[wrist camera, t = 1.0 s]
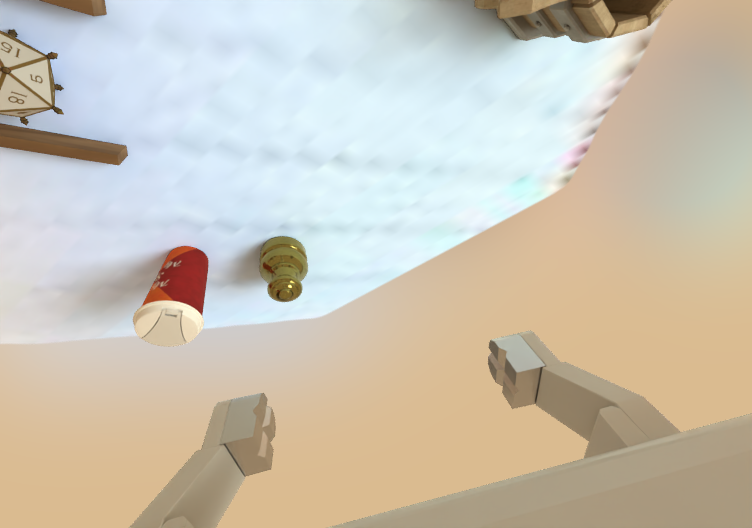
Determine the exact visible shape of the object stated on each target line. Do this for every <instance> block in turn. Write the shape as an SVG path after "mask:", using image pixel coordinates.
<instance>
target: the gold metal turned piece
mask: <svg viewBox="0 0 752 528" xmlns="http://www.w3.org/2000/svg"><path fill="white" fill-rule="evenodd" d="M259 271H260V274H261V276H262V278H263V279H264V280H265V281H266V282H267V283H269V284H268V288H267V291H268V294H269V296H270V297H271V298H272V299H274V300H276V301H279V302H289V301H293V300H295V299H296V298H298V297H299V296H300V295H301V293H302V284H301V281H302V280H303V279H304V278H305V276H306V274H307V272H308V264H307V256H306V251H305V248H304V246H303V245H302V244H301V243H300V242H299V241H298V240H296V239H294V238H291V237H284V236H282V237H276V238H273V239H270V240H269V241H267V242H266V243H265V244H264V245H263V247H262V249H261V253H260V266H259Z"/></svg>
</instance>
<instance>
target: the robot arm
mask: <svg viewBox="0 0 752 528" xmlns="http://www.w3.org/2000/svg"><path fill="white" fill-rule="evenodd" d="M489 349H490V350H491V352H492V353H491V354H490V355H489V357H488V365H489V369H490V372H491V374H492V377H493V378H494V380H495V382H496V383H498V384H500V385H501V386H503V391H502V393H503V395H504V396H505V398H506V399H507V401H508V403H509V404H510V406H511V407H512V409H513V408H518V407H522V406H527V405H532V404H536V405H537V406H538V407H539V408H541V409H542V410H544V411H545V412H547V413H548V414H550V415H551V416H553V417H554V418H556V419H557V420H558V421H560V422H561V423H563V424H564V425H566V426H567V427H569V428H570V429H572V430H573V431H575V432H576V433H577V434H579V435H580V436H582V437H583V438H585V439H586V440H588V441H589V443H588V446H587V449H586V453H585V456H584V459H581V460H577V461H573V462H570V463H566V464H562V465H559V466H555V467H551V468H547V469H544V470H540V471H537V472H533V473H529V474H525V475H522V476H518V477H514V478H511V479H507V480H503V481H499V482H496V483H492V484H488V485H485V486H481V487H477V488H473V489H469V490H466V491H462V492H458V493H454V494H451V495H447V496H443V497H440V498H436V499H432V500H428V501H425V502H421V503H417V504H414V505H410V506H406V507H402V508H399V509H395V510H392V511H388V512H384V513H380V514H377V515H373V516H369V517H365V518H362V519H358V520H354V521H351V522H347V523H343V524H339V525H336V526H332V527H329V528H752V414H748V415H744V416H740V417H737V418H733V419H729V420H726V421H722V422H718V423H715V424H711V425H707V426H703V427H699V428H696V429H692V430H689V431H685V432H680V431H679V430H678V429H677V428H676V427H675V426H674V425H673V424H672V423H670V421H668V420H667V419H666V418H665V417H664V416H663V415H662V414H661V413H660V412H659V411H658V410H657V409H656V408H655V407H654V406H653V405H651V404H650V403H649V402H648V401H647V400H646V399H645V398H644V397H642V396H640V395H638V394H636V393H634V392H631V391H629V390H627V389H625V388H622V387H620V386H618V385H615V384H613V383H611V382H609V381H607V380H604V379H602V378H600V377H597V376H595V375H593V374H591V373H589V372H587V371H584V370H582V369H580V368H578V367H575V366H573V365H571V364H569V363H566V362H562V363H561V362H560V361H559V360H558V359H557V358H556V356H555V355H553V353H552V352H551V351H550V350H549V349H548V348H547V347H546V346H545V344H544V343H543V342H542V341H541V340H540V339H539V338H538V337H537V336H536V335H535V334H534V332H532V331H526V332H522V333H518V334H513V335H509V336H505V337H501V338H497V339H493V340H490V343H489ZM275 429H276V426H275V417H274V413H273V410H272V408H270V407H269V406H267V398H266V396H265V394H264V393H260V394H256V395H251V396H245V397H241V398H236V399H232V400H227V401H222V402H218V403H217V404H216V406H215V407H214V410H213V413H212V417H211V420H210V423H209V426H208V429H207V432H206V436H205V439H204V442H203V445H202V449H201V450H198V451H196V452H195V453H194V454H193V455H192V457H191V458H190V459H189V460H188V461H187V462H186V463H185V465H184V466H183V467H182V468H181V469H180V470H179V471H178V473H177V474H176V475H175V476H174V477H173V478H172V479H171V481H170V482H169V483H168V484H167V485H166V486H165V487H164V489H163V490H162V491H161V492H160V493H159V494H158V495H157V497H156V498H155V499H154V500H153V501H152V502H151V503H150V504H149V506H148V507H147V508H146V509H145V510H144V511H143V512H142V514H141V515H140V516H139V517H138V518H137V520H135V522H134V523H133V524H132V525H131V526H130V527H129V528H216V526H217V525H218V523H219V521H220V520H221V518H222V516H223V515H224V513H225V511H226V510H227V508H228V506H229V504H230V503H231V501H232V499H233V498H234V496H235V494H236V493H237V491H238V489H239V488H240V486H241V484H242V482H243V481H244V479H245V476H249V475H252V474H256V473H259V472H263V471H267V470H270V469H271V466H272V457H273V447H272V445H271V443H270V442H271V441H272V439H273V438H274V437H275Z"/></svg>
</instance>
